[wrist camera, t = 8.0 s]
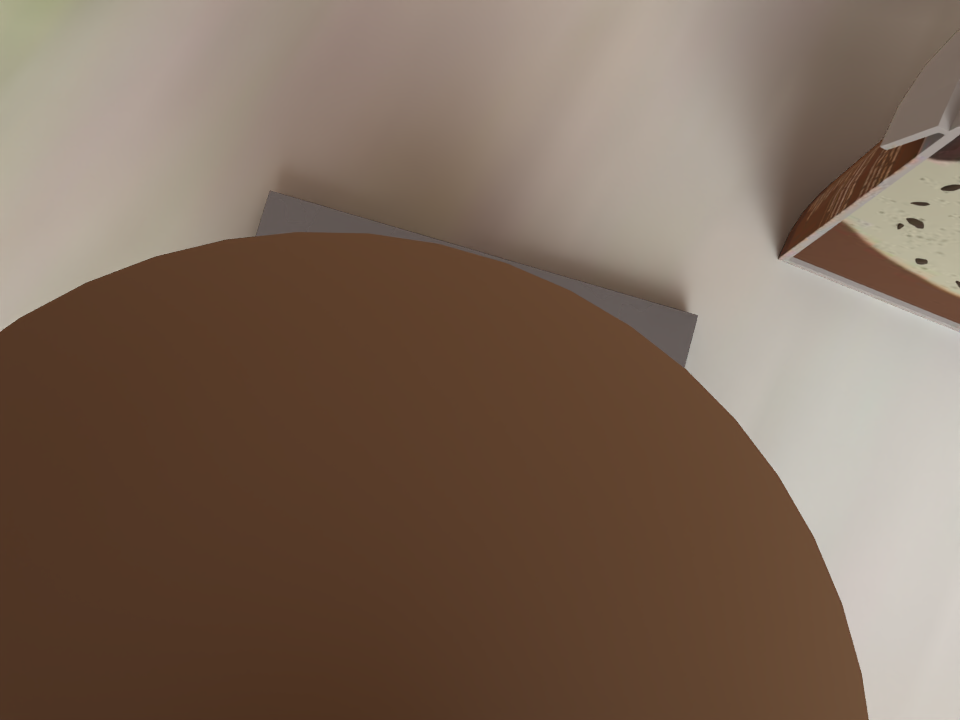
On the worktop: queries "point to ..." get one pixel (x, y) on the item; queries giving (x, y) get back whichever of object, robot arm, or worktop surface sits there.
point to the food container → (897, 206)
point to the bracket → (646, 317)
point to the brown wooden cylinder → (388, 504)
